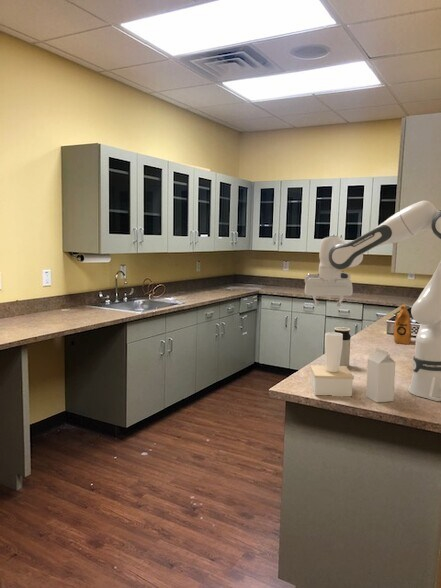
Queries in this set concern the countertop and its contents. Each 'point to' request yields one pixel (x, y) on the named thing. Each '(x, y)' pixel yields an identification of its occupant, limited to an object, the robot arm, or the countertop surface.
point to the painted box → (331, 381)
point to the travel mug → (344, 345)
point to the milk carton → (380, 377)
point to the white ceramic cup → (333, 351)
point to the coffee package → (402, 327)
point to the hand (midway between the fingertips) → (327, 305)
